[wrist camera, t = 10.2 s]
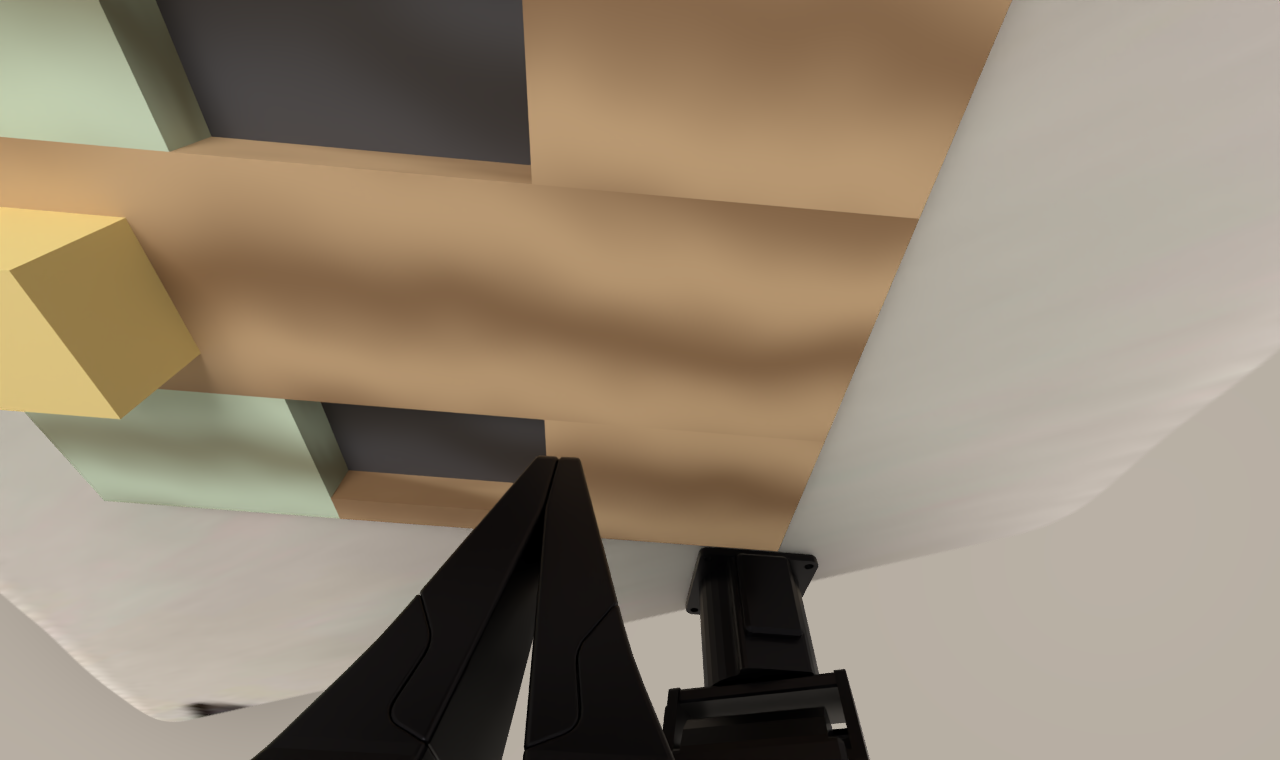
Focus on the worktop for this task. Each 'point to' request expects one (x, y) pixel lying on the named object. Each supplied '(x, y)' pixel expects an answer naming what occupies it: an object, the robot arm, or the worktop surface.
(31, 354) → the mustard block
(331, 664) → the worktop surface
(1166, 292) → the worktop surface
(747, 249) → the trap deck
